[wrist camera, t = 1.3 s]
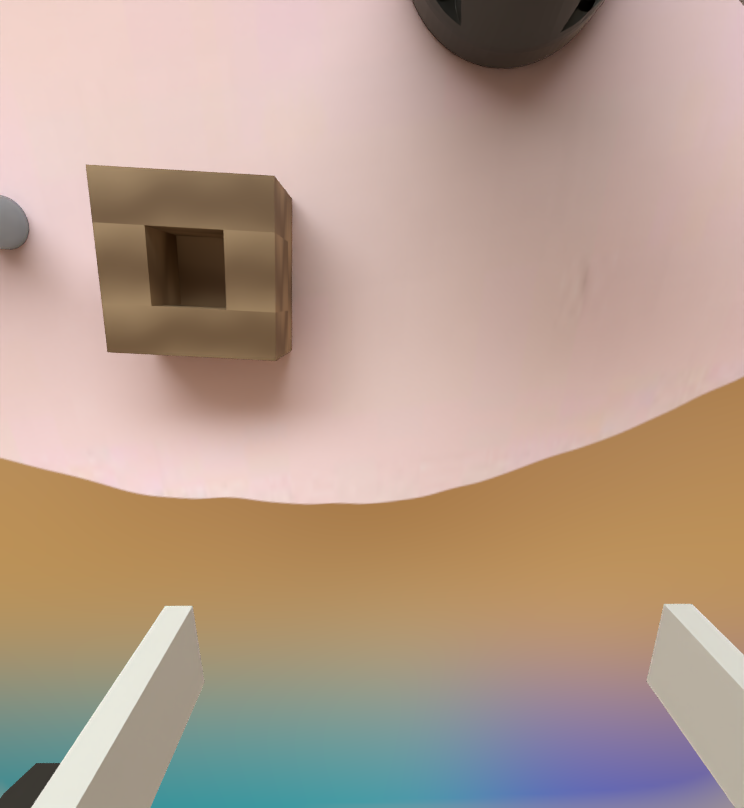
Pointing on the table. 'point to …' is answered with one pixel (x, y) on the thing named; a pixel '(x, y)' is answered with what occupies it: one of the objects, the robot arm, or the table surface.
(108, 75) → the table surface
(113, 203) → the socket block
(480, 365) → the table surface
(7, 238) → the pin
